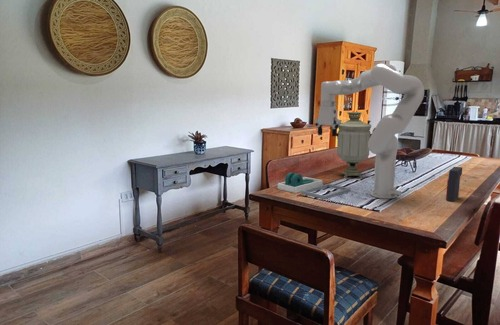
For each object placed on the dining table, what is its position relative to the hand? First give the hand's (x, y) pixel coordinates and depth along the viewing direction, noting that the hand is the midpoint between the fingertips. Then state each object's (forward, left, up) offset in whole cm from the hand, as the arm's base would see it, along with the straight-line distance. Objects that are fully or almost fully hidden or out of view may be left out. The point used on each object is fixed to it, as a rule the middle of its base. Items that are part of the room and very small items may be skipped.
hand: (327, 135), depth 201 cm
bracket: (+7, +14, -28) cm, 32 cm away
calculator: (-60, -20, -28) cm, 69 cm away
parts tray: (+7, +14, -28) cm, 32 cm away
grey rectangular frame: (-10, +13, -28) cm, 33 cm away
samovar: (+3, -33, -28) cm, 44 cm away
